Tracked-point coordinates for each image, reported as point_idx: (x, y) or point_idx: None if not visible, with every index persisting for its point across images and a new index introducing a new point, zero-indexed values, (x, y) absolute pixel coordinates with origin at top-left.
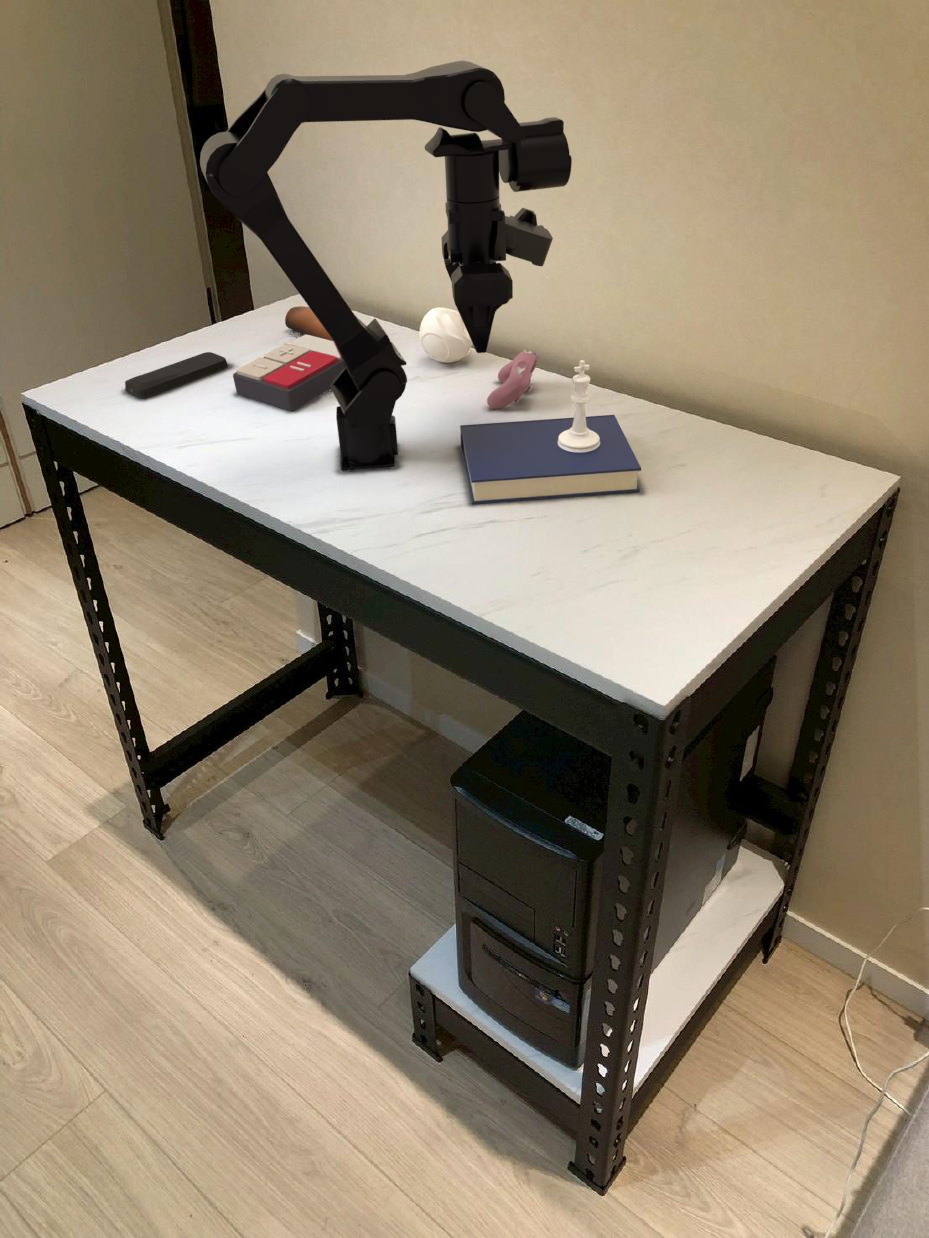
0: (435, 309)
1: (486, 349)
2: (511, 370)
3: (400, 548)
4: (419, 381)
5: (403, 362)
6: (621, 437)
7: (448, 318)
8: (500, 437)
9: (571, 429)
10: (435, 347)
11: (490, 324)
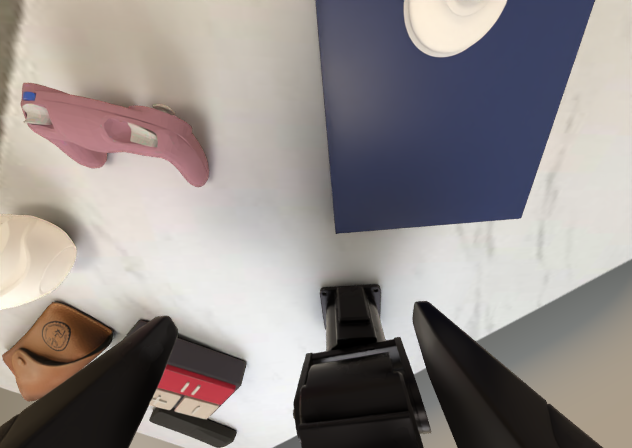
0: None
1: (433, 306)
2: (140, 154)
3: (556, 271)
4: (140, 267)
5: (410, 420)
6: None
7: None
8: (388, 174)
9: (466, 7)
10: (63, 270)
11: (570, 429)
